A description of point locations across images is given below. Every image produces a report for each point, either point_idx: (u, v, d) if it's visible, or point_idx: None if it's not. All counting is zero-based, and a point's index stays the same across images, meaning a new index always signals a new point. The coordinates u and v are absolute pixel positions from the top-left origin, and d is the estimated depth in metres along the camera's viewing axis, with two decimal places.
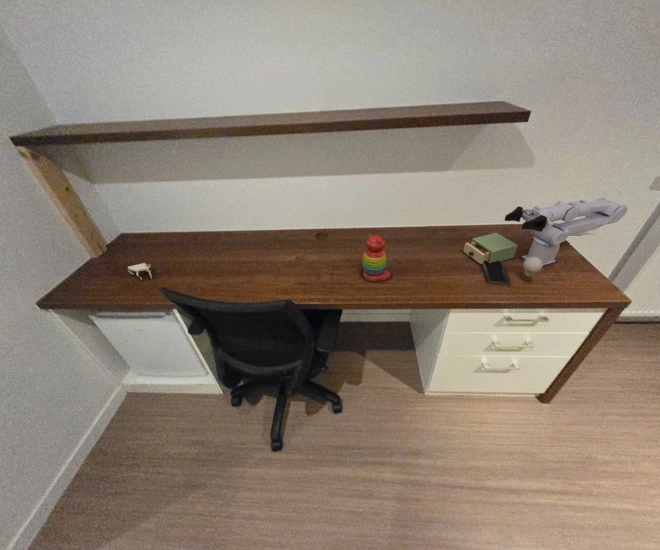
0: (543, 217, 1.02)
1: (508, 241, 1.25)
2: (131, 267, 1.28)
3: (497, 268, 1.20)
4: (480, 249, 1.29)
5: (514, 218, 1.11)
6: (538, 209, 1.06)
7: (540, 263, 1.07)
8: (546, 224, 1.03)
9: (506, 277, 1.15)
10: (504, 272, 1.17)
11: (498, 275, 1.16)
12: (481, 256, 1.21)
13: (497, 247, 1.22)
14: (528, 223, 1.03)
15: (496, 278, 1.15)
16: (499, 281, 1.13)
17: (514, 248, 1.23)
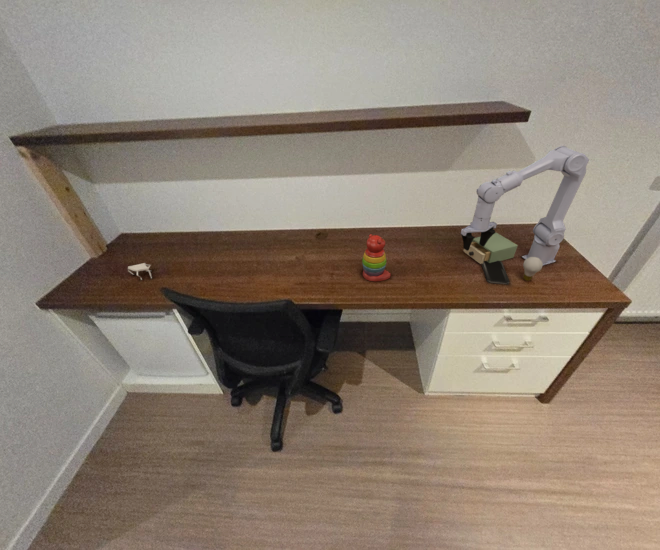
0: None
1: (508, 241, 1.25)
2: (131, 267, 1.28)
3: (497, 268, 1.20)
4: (480, 249, 1.29)
5: (485, 237, 1.16)
6: None
7: (540, 263, 1.07)
8: None
9: (506, 277, 1.15)
10: (504, 272, 1.17)
11: (498, 275, 1.16)
12: (481, 256, 1.21)
13: (497, 247, 1.22)
14: (464, 245, 1.17)
15: (496, 278, 1.15)
16: (499, 281, 1.13)
17: (514, 248, 1.23)
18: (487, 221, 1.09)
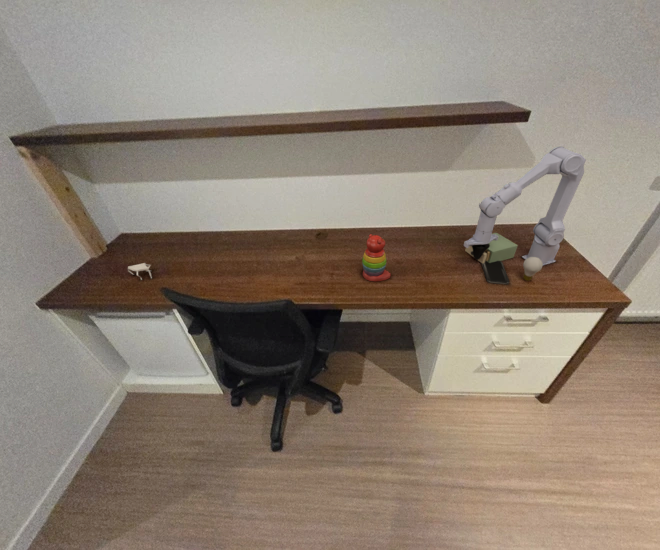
0: None
1: (508, 241, 1.25)
2: (131, 267, 1.28)
3: (497, 268, 1.20)
4: None
5: None
6: None
7: (540, 263, 1.07)
8: None
9: (506, 277, 1.15)
10: (504, 272, 1.17)
11: (498, 275, 1.16)
12: (483, 255, 1.21)
13: (497, 247, 1.22)
14: (474, 254, 1.22)
15: (496, 278, 1.15)
16: (499, 281, 1.13)
17: (514, 248, 1.23)
18: (489, 234, 1.13)
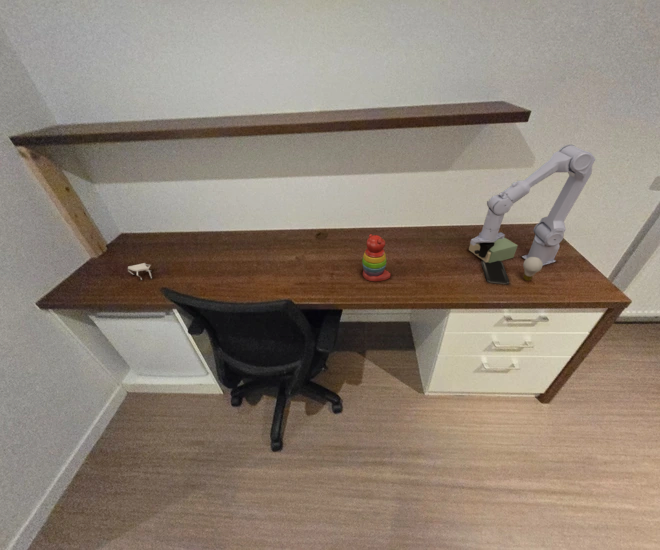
0: None
1: (508, 241, 1.25)
2: (131, 267, 1.28)
3: (497, 268, 1.20)
4: None
5: (485, 249, 1.20)
6: None
7: (540, 263, 1.07)
8: None
9: (506, 277, 1.15)
10: (504, 272, 1.17)
11: (498, 275, 1.16)
12: (487, 254, 1.21)
13: (497, 247, 1.22)
14: None
15: (496, 278, 1.15)
16: (499, 281, 1.13)
17: (514, 248, 1.23)
18: (496, 232, 1.14)
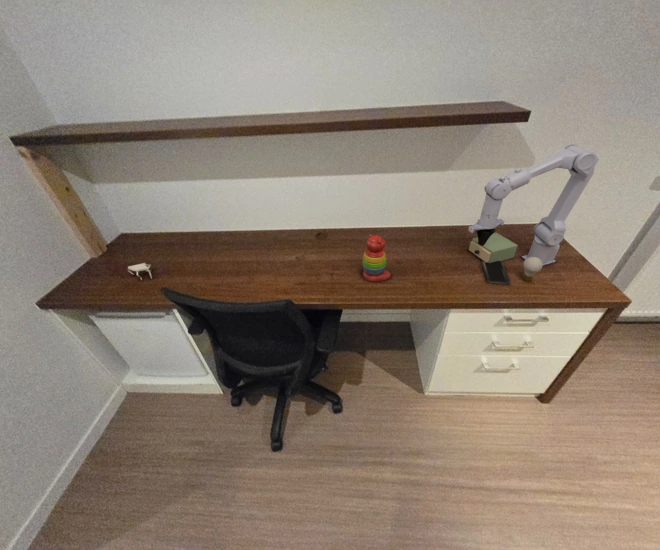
0: None
1: (508, 241, 1.25)
2: (131, 267, 1.28)
3: (497, 268, 1.20)
4: None
5: None
6: None
7: (540, 263, 1.07)
8: None
9: (506, 277, 1.15)
10: (504, 272, 1.17)
11: (498, 275, 1.16)
12: (487, 254, 1.21)
13: (497, 247, 1.22)
14: (478, 240, 1.19)
15: (496, 278, 1.15)
16: (499, 281, 1.13)
17: (514, 248, 1.23)
18: (495, 218, 1.09)
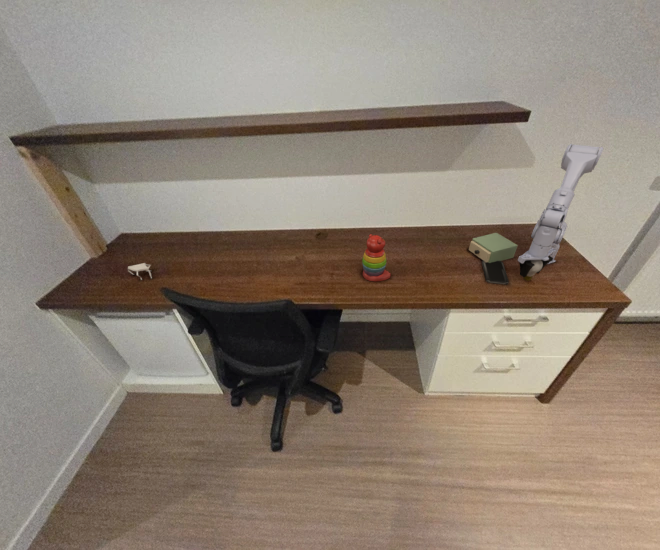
0: (550, 260, 1.07)
1: (508, 241, 1.25)
2: (131, 267, 1.28)
3: (497, 268, 1.20)
4: None
5: None
6: None
7: (540, 263, 1.07)
8: None
9: (506, 277, 1.15)
10: (504, 272, 1.17)
11: (498, 275, 1.16)
12: (487, 254, 1.21)
13: (497, 247, 1.22)
14: None
15: (496, 278, 1.15)
16: (498, 281, 1.13)
17: (514, 248, 1.23)
18: None
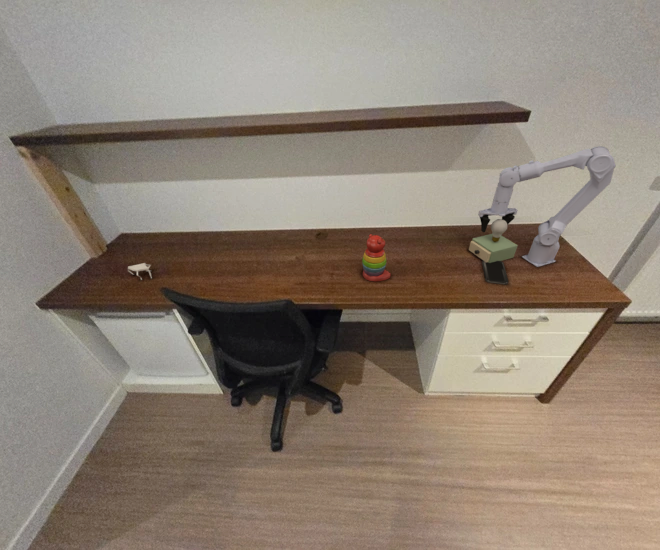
0: (512, 219, 1.19)
1: (508, 241, 1.25)
2: (131, 267, 1.28)
3: (497, 268, 1.19)
4: None
5: None
6: None
7: (504, 224, 1.18)
8: None
9: (505, 277, 1.15)
10: (504, 272, 1.17)
11: (498, 275, 1.16)
12: (487, 254, 1.21)
13: (497, 247, 1.22)
14: None
15: (495, 278, 1.15)
16: (498, 281, 1.13)
17: (514, 248, 1.23)
18: None
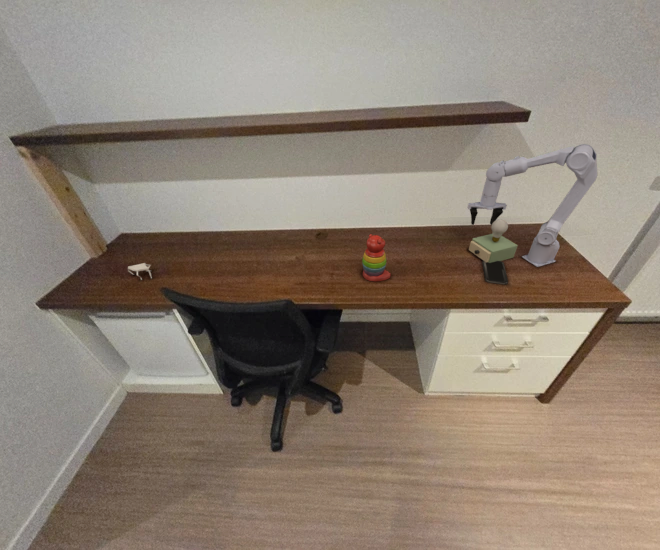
0: (500, 213, 1.23)
1: (508, 241, 1.25)
2: (131, 267, 1.28)
3: (497, 268, 1.19)
4: None
5: None
6: None
7: (504, 224, 1.18)
8: None
9: (505, 277, 1.15)
10: (504, 272, 1.17)
11: (498, 275, 1.16)
12: (487, 254, 1.21)
13: (497, 247, 1.22)
14: None
15: (495, 278, 1.15)
16: (497, 281, 1.13)
17: (514, 248, 1.23)
18: None
